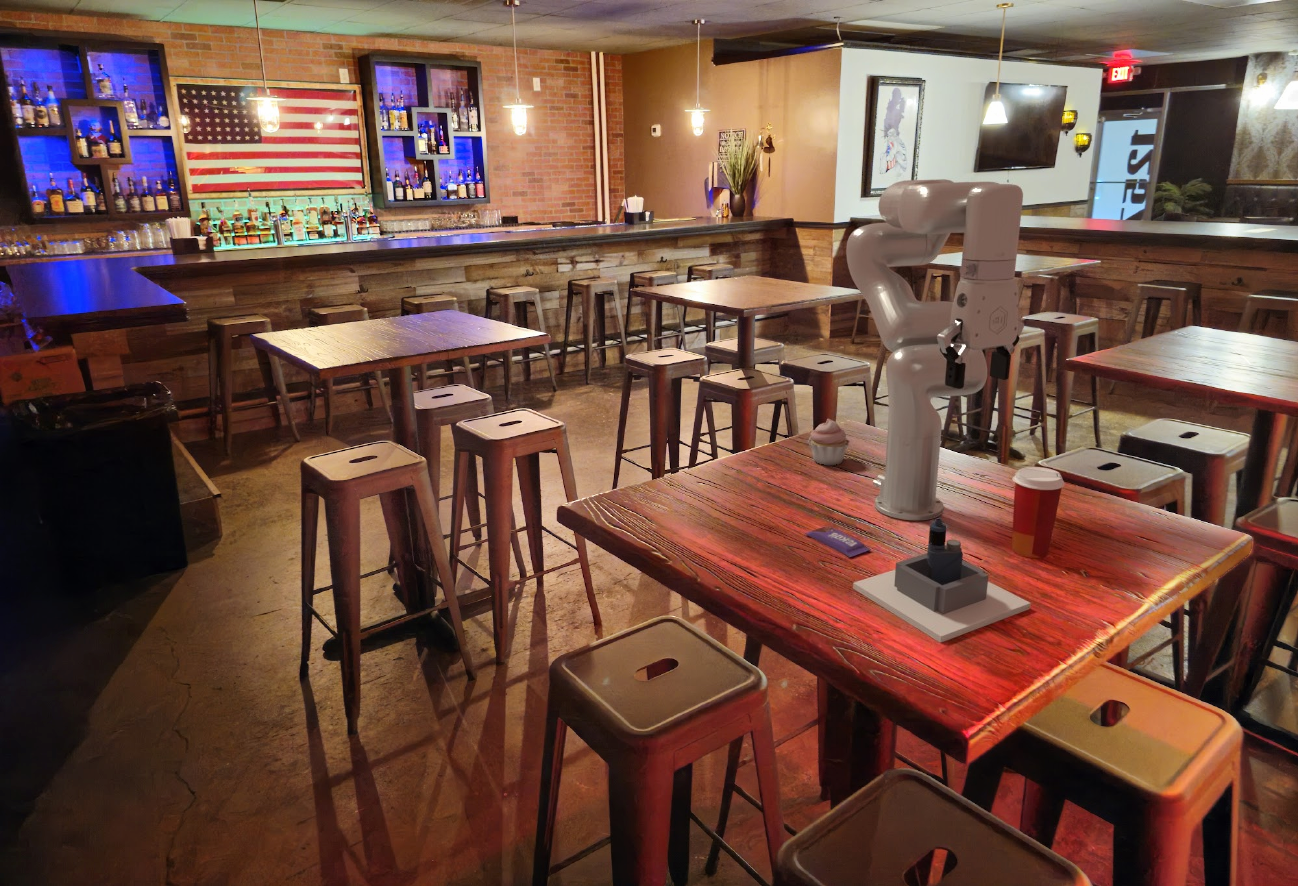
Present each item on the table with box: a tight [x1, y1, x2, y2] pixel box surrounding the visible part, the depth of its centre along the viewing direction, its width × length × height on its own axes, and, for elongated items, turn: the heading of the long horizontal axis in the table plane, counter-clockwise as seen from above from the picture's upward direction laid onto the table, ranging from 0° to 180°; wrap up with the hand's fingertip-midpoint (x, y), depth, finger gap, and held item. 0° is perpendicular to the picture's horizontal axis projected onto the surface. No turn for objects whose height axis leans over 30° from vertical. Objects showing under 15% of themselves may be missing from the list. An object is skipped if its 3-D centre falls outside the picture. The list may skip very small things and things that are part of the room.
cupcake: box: [806, 418, 850, 466], centre depth 183 cm, size 9×9×10 cm
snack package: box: [804, 526, 872, 558], centre depth 145 cm, size 12×2×5 cm
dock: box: [852, 552, 1031, 644], centre depth 125 cm, size 18×18×5 cm
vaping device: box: [926, 517, 964, 585], centre depth 123 cm, size 3×5×12 cm, turn 92°
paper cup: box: [1011, 466, 1065, 559], centre depth 137 cm, size 8×8×14 cm
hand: (976, 382), depth 128 cm, fingers open, 9 cm apart
